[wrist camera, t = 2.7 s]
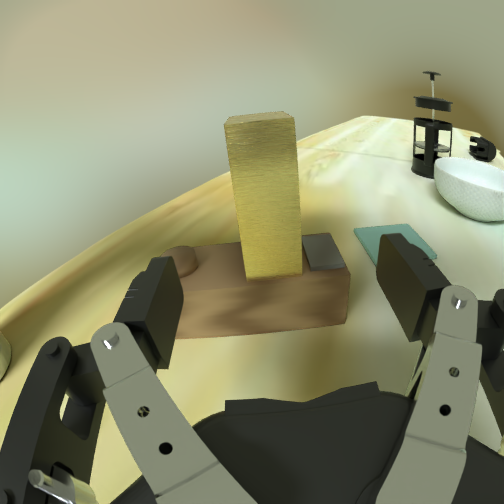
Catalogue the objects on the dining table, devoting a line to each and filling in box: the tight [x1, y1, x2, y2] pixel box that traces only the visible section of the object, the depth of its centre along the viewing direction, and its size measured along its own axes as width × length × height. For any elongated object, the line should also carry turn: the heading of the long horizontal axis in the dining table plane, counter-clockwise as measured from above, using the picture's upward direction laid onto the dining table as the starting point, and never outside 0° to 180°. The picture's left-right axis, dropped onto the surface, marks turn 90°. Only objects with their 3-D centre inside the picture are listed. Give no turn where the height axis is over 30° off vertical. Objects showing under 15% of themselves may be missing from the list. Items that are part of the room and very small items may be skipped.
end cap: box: [470, 136, 496, 162], centre depth 66 cm, size 10×7×7 cm
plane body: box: [160, 233, 351, 339], centre depth 25 cm, size 15×6×6 cm, turn 91°
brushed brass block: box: [224, 111, 302, 282], centre depth 21 cm, size 4×6×11 cm, turn 1°
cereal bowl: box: [434, 157, 504, 222], centre depth 36 cm, size 17×17×7 cm
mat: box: [354, 224, 437, 266], centre depth 32 cm, size 8×8×1 cm
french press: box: [411, 71, 452, 179], centre depth 48 cm, size 12×9×23 cm
